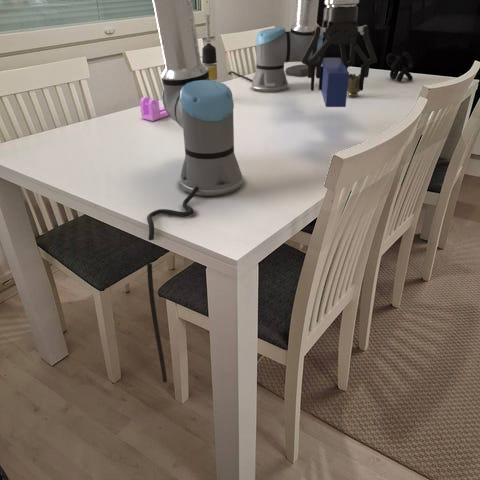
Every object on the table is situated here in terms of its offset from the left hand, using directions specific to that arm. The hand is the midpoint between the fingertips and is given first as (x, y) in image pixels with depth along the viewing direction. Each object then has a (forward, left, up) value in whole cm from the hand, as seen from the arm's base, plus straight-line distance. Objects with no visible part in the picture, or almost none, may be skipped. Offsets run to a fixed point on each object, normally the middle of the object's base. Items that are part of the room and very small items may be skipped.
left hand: (336, 89), depth 126 cm
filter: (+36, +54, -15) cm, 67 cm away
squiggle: (+89, -15, -15) cm, 91 cm away
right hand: (+14, +4, -3) cm, 14 cm away
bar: (+7, +2, -4) cm, 8 cm away
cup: (+54, +1, -15) cm, 56 cm away
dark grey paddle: (+96, +29, -15) cm, 102 cm away
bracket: (+9, +63, -15) cm, 65 cm away
